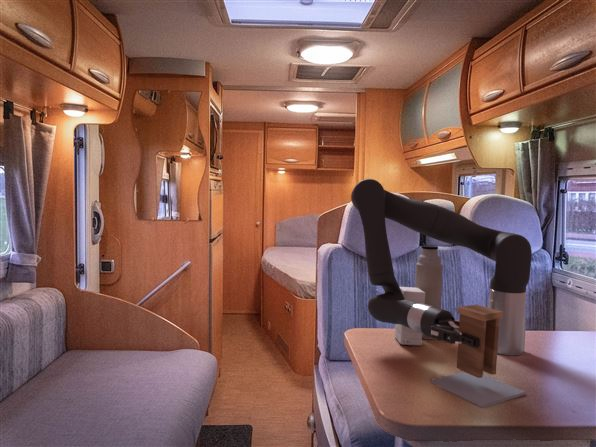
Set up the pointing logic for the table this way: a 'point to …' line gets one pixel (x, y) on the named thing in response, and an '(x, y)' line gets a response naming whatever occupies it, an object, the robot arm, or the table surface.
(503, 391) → the mat
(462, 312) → the stool
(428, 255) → the thermos bottle
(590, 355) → the table surface
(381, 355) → the table surface
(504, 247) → the robot arm
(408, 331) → the skincare box
